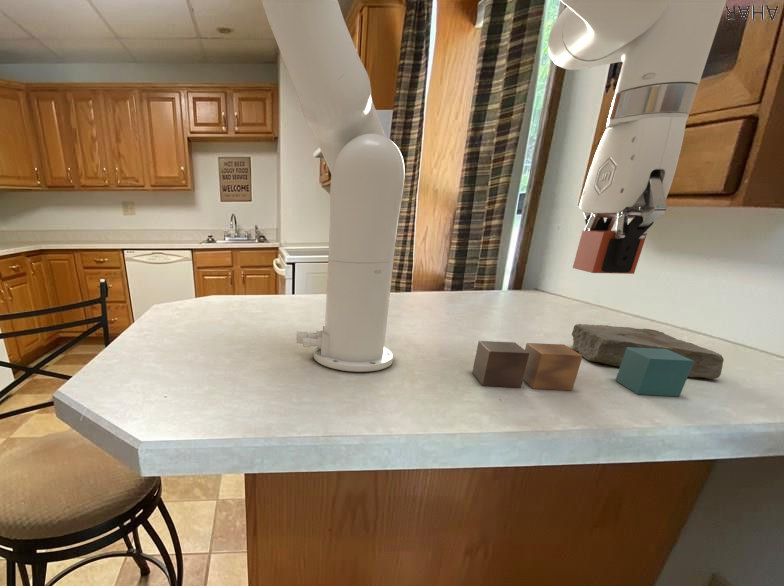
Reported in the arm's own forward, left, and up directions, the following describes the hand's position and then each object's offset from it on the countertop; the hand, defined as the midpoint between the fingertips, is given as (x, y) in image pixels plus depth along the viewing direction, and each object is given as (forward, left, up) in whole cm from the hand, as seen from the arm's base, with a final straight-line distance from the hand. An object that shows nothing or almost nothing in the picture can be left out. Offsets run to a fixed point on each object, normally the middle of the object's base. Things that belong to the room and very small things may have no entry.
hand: (602, 267), depth 57 cm
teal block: (+8, -4, -15) cm, 18 cm away
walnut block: (-12, -4, -15) cm, 20 cm away
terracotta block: (0, 0, 0) cm, 0 cm away
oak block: (-5, -4, -15) cm, 17 cm away
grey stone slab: (+13, +9, -16) cm, 22 cm away
